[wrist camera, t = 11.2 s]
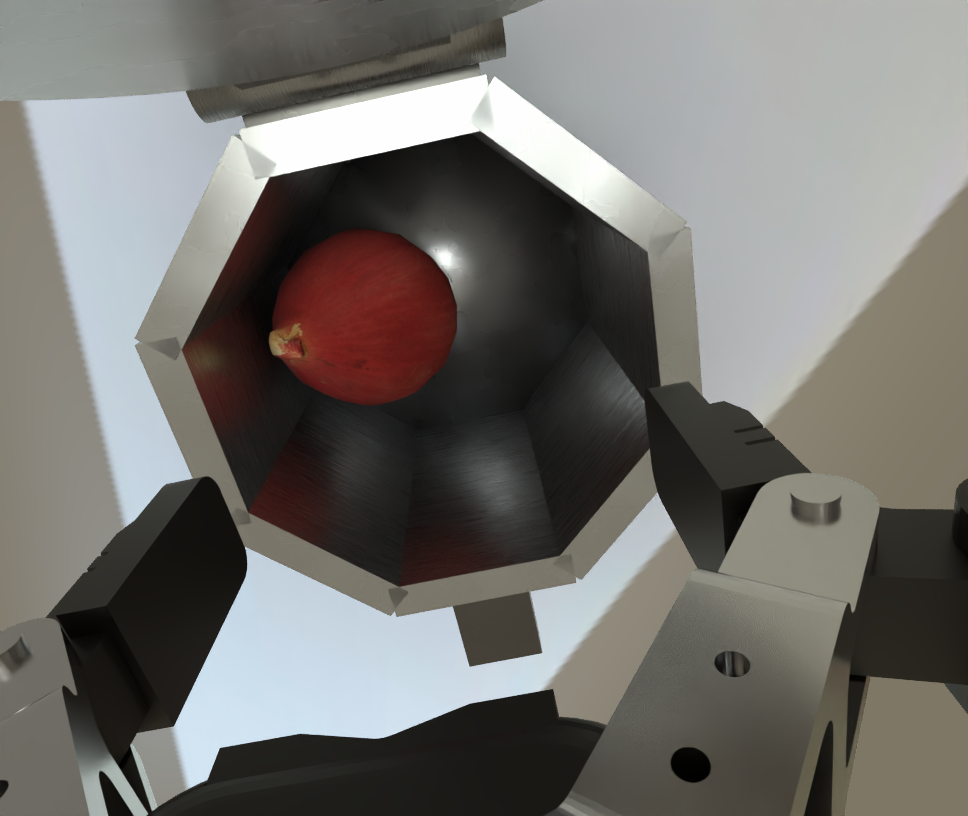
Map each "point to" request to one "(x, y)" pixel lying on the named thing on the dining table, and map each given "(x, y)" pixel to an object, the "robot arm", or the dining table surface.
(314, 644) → the dining table surface
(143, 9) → the lid
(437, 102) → the pot
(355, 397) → the onion
